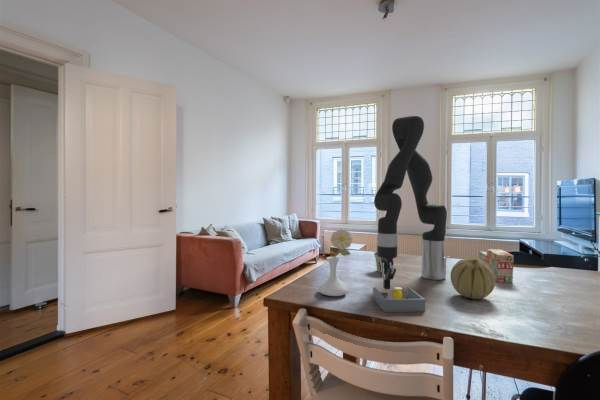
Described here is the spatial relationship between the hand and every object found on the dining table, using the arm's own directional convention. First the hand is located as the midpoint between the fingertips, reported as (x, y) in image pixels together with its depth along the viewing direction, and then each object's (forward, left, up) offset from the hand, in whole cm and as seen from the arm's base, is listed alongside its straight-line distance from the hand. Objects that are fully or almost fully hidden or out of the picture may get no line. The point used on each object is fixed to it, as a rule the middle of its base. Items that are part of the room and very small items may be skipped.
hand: (386, 288), depth 120 cm
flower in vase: (+21, +1, -2) cm, 21 cm away
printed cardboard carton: (-58, -20, -2) cm, 61 cm away
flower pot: (-8, -30, -2) cm, 31 cm away
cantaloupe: (-29, +7, -2) cm, 31 cm away
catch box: (+1, +12, -1) cm, 12 cm away
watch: (0, +13, -2) cm, 13 cm away
